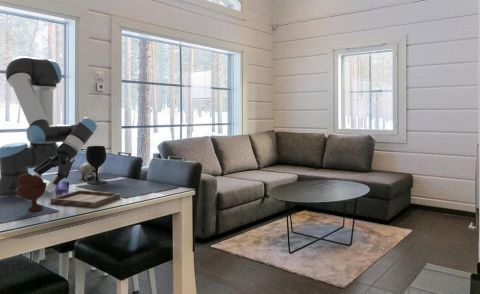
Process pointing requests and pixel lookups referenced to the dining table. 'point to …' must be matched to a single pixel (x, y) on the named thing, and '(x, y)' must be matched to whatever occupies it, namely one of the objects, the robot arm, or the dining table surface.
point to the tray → (85, 198)
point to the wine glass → (96, 160)
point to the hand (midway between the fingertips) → (37, 189)
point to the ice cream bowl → (31, 189)
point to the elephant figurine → (86, 170)
